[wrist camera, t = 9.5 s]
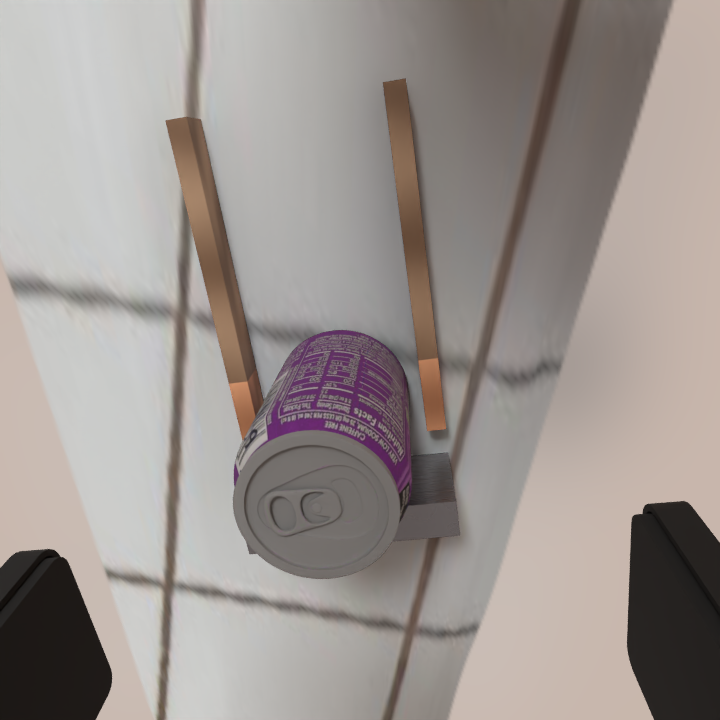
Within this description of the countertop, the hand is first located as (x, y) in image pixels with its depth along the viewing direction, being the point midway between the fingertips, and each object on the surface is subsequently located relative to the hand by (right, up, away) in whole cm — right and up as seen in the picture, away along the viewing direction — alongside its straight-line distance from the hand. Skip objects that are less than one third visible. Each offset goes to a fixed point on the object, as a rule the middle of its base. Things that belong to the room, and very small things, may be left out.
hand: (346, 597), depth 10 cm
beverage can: (-1, +2, +23) cm, 23 cm away
